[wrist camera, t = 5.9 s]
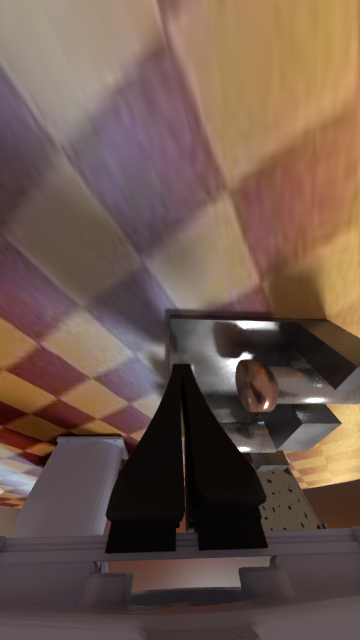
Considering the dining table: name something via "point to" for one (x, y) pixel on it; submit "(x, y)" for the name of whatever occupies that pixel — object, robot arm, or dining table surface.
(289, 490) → the food container
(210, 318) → the mount
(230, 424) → the silver long cylinder
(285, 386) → the copper-capped metal rod
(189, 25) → the dining table surface
